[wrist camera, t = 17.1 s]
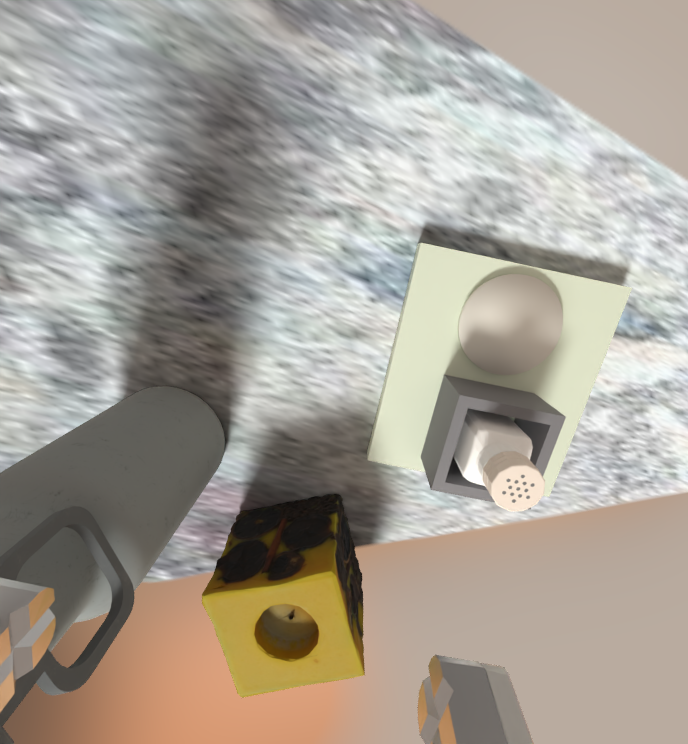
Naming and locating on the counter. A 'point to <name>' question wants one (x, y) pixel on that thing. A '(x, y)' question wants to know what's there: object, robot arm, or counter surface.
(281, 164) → the counter surface
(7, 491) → the water bottle
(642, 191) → the counter surface
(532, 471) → the salt shaker
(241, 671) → the candle
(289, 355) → the counter surface
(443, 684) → the robot arm
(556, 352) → the cream holder tray
